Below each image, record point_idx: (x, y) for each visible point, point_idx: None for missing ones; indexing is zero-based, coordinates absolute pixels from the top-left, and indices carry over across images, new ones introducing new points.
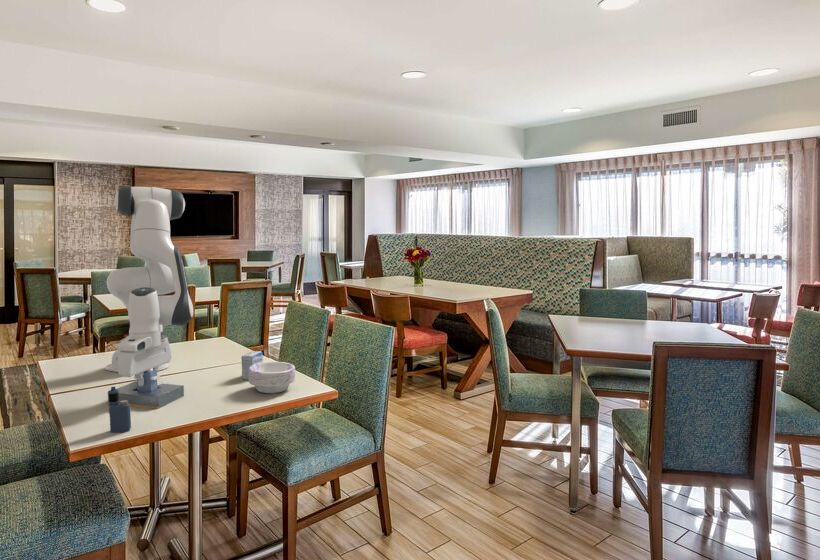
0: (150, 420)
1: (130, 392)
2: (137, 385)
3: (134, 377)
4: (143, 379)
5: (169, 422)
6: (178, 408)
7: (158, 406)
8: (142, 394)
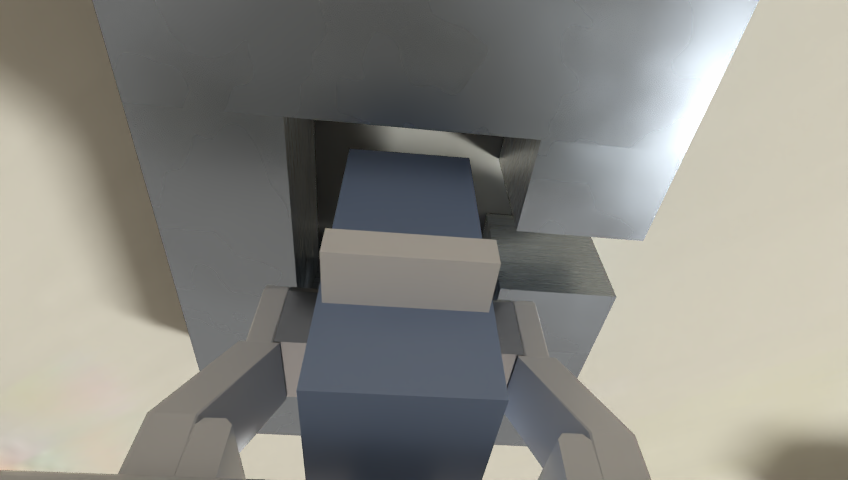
0: (46, 402)
1: (206, 169)
2: (335, 217)
3: (321, 255)
4: (264, 408)
5: (89, 468)
6: None
7: None
8: (208, 315)
